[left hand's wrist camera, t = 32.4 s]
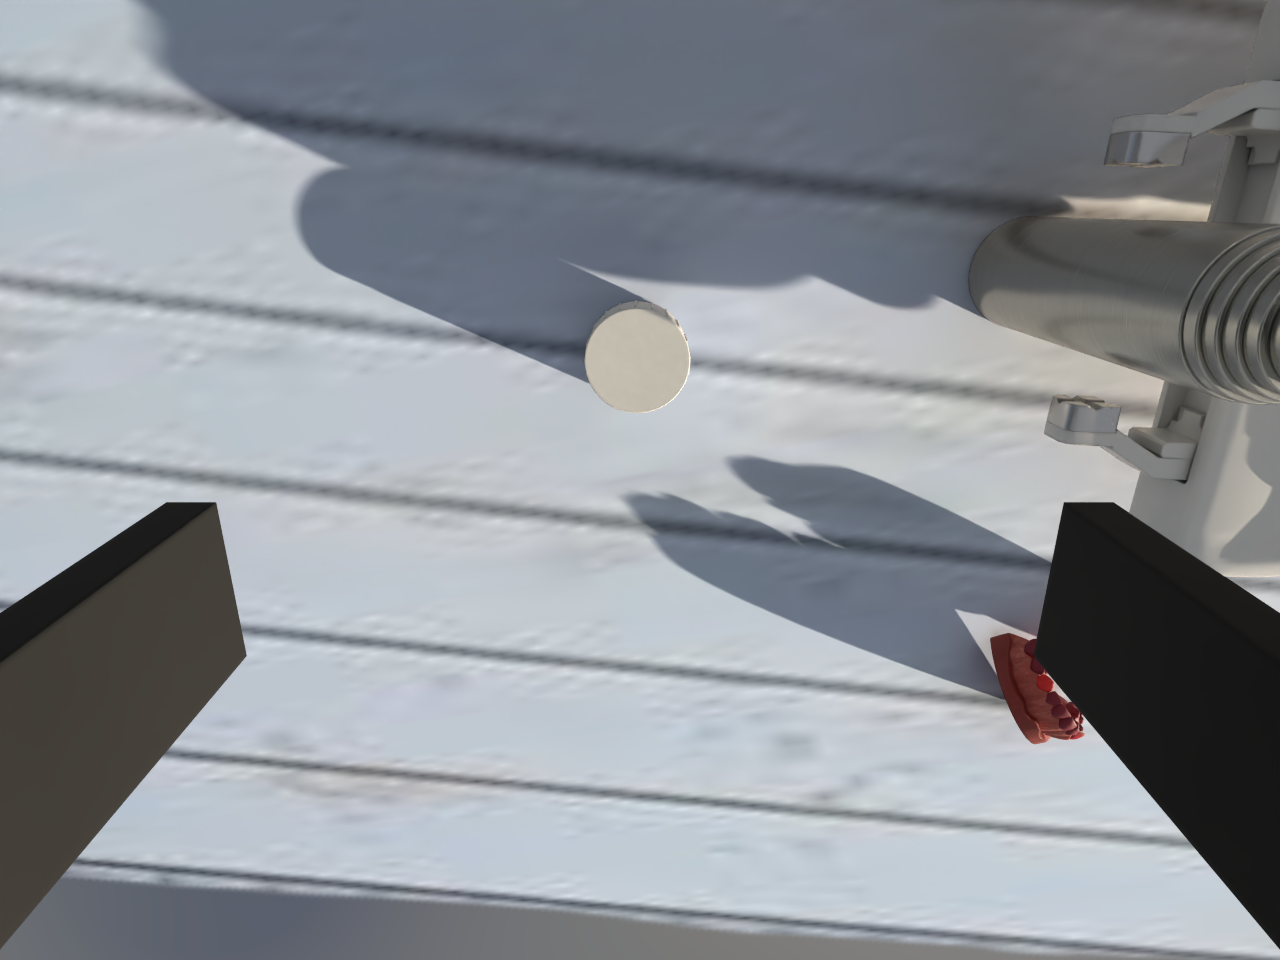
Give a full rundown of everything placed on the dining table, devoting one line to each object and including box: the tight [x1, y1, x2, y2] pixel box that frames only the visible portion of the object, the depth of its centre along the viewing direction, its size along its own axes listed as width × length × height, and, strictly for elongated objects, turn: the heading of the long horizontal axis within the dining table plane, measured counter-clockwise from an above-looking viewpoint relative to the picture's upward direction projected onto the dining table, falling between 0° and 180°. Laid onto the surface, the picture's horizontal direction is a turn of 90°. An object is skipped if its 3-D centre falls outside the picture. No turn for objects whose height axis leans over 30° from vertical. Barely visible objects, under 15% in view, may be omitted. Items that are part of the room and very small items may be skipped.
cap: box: [584, 300, 691, 413], centre depth 34 cm, size 4×4×3 cm
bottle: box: [969, 216, 1280, 405], centre depth 25 cm, size 5×5×19 cm
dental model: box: [990, 633, 1085, 744], centre depth 38 cm, size 6×4×8 cm
